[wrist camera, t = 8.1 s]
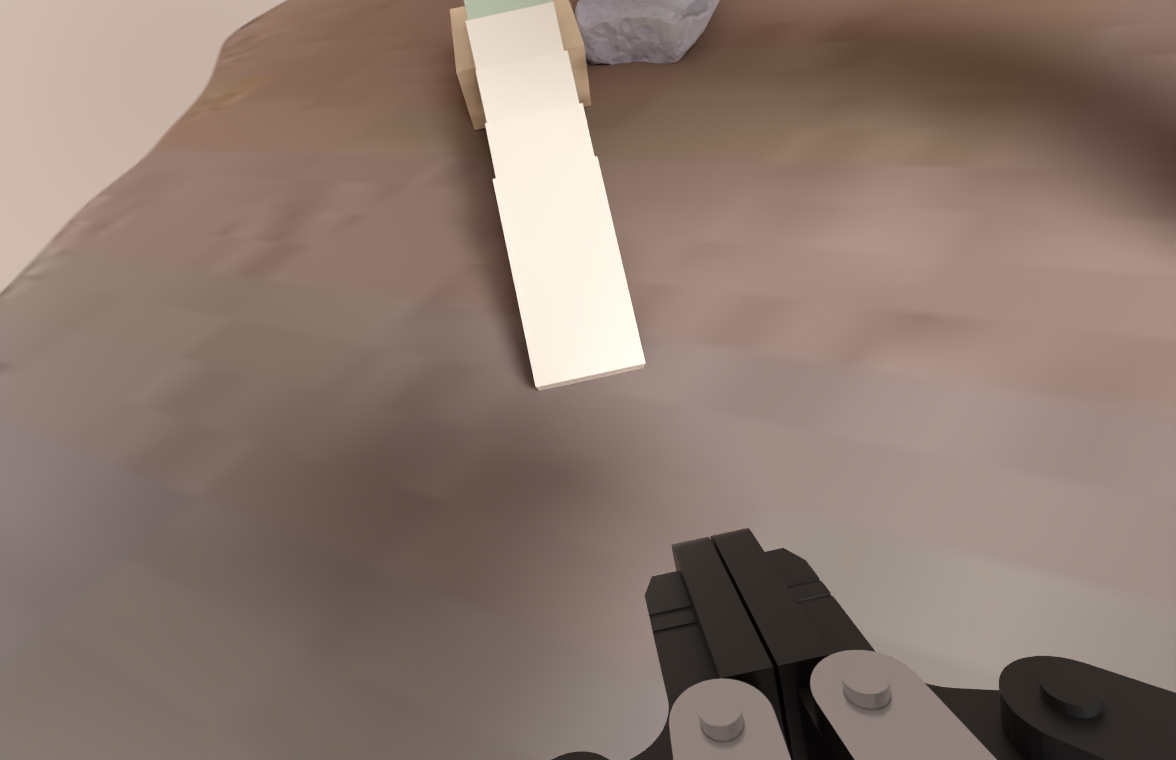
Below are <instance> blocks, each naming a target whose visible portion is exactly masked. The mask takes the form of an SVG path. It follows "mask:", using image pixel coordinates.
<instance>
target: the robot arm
mask: <svg viewBox="0 0 1176 760" xmlns="http://www.w3.org/2000/svg"><path fill="white" fill-rule="evenodd" d="M672 550H673V556H674V561H675V566H676V572H671V573H667V574H662V575H658V576H653V577H652V578H651V580H650V583H649V586H648V588H647V591H646V594H645V599H646V603H647V608H648V612H649V617H650V621H651V626H652V630H653V635H654V639H655V644H656V648H657V653H658V657H659V662H660V666H661V671H662V675H663V680H664V684H665V688H666V693H667V697H668V702H669V714H668V718H667V722H666V724H665V726H664V729H663V731H662V732H661V734H660V735H659V737H658V738H657V739H656V740H655V741H654V743H653V744H652V745H651V746H649V747H648V748H647V749H646V750H645V751H643V752H642V753H640V754H639V755H637V756H636V757H634V758H632V759H630V760H1176V693H1174V692H1171V691H1168V690H1165V689H1162V688H1159V687H1156V686H1153V685H1150V684H1147V683H1144V682H1141V681H1138V680H1135V679H1132V678H1128V677H1125V676H1122V675H1119V674H1116V673H1113V672H1110V671H1107V670H1104V669H1101V668H1098V667H1095V666H1092V665H1089V664H1086V663H1082V662H1079V661H1075V660H1071V659H1066V658H1061V657H1052V656H1034V657H1026V658H1022V659H1019V660H1016V661H1014V662H1012V663H1010V664H1009V665H1008V666H1006V667H1005V668H1004V670H1003V671H1002V672H1001V675H1000V678H999V690H980V689H961V688H947V687H940V686H935V685H930V684H926V683H924V682H923V681H922V680H921V679H920V678H919V677H918V675H917V674H916V673H915V672H913V671H912V670H911V669H910V668H909V667H908V666H906V665H905V664H903V663H902V662H900V661H898V660H896V659H894V658H892V657H890V656H887V655H885V654H881V653H877V652H875V651H874V649H873V648H872V647H871V645H870V644H869V643H868V641H867V640H866V639H865V637H864V636H863V635H862V634H861V632H860V631H859V630H858V628H857V627H856V626H855V624H854V623H853V622H852V620H851V619H850V618H849V616H848V615H847V614H846V613H845V611H844V610H843V609H842V607H841V606H840V605H839V603H838V602H837V601H836V599H835V598H834V597H833V596H831V594H830V592H829V590H828V589H827V588H826V586H825V585H824V584H823V582H822V581H821V582H820V580H819V577H818V576H817V575H816V573H815V572H814V571H813V569H812V568H811V567H810V565H809V564H808V563H807V562H806V560H804V559H802V558H800V557H799V556H797V555H795V554H793V553H791V552H790V551H788V550H786V549H784V548H781V549H777V550H772V551H767V552H764V550H763V549H762V547H761V546H760V544H759V543H758V541H757V540H756V538H755V537H754V535H753V534H752V532H751V531H750V529H749V528H746V529H741V530H737V531H732V532H728V533H723V534H718V535H714V536H711V540H710V538H709V537H705V538H701V539H696V540H692V541H687V542H682V543H678V544H673V545H672ZM552 760H609V759H607V758H605V757H603V756H601V755H599V754H596V753H591V752H573V753H567V754H564V755H561V756H558V757H556V758H554V759H552Z"/></svg>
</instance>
